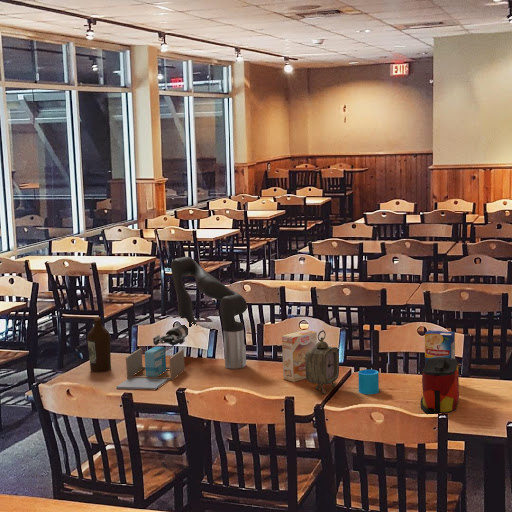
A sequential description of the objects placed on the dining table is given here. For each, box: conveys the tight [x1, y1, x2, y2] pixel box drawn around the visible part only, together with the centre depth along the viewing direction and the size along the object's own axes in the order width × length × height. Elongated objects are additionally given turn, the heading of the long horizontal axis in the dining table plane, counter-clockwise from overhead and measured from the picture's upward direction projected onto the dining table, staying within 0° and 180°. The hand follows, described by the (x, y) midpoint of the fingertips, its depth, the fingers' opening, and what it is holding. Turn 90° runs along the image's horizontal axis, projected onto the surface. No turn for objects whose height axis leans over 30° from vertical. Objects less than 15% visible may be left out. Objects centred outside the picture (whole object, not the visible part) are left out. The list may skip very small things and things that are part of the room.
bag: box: [420, 357, 460, 415], centre depth 333 cm, size 30×14×16 cm, turn 163°
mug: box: [357, 369, 380, 395], centre depth 356 cm, size 12×8×8 cm
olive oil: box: [86, 316, 112, 373], centre depth 406 cm, size 11×11×25 cm
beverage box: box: [424, 329, 456, 365], centre depth 358 cm, size 7×11×22 cm, turn 65°
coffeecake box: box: [281, 329, 318, 382], centre depth 379 cm, size 15×7×20 cm, turn 131°
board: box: [116, 378, 168, 390], centre depth 378 cm, size 18×14×1 cm
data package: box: [144, 346, 167, 377], centre depth 393 cm, size 12×4×12 cm, turn 160°
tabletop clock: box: [305, 329, 340, 395], centre depth 357 cm, size 14×9×25 cm, turn 151°
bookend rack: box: [125, 347, 186, 381], centre depth 394 cm, size 21×17×10 cm
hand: (163, 343), depth 405 cm, fingers open, 8 cm apart
